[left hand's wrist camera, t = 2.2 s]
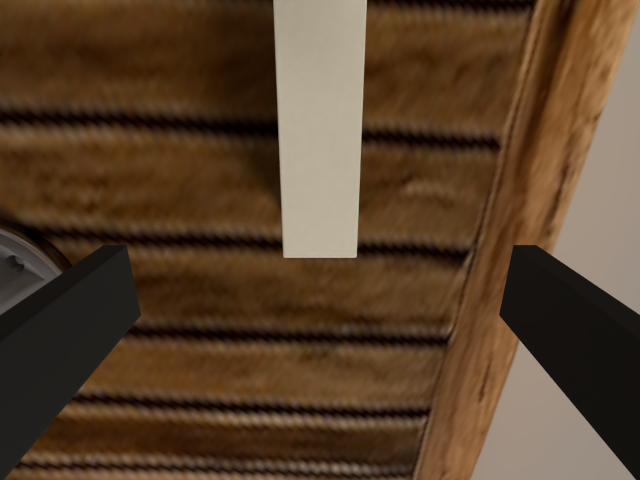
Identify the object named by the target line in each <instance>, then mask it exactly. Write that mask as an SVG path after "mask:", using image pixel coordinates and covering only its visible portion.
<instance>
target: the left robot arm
mask: <svg viewBox="0 0 640 480" xmlns="http://www.w3.org/2000/svg"><path fill="white" fill-rule="evenodd" d="M140 315H141V314H140V309H139V304H138V299H137V294H136V289H135V284H134V280H133V275H132V270H131V265H130V260H129V255H128V251H127V246H126V245H103V246H102V247H100V248H99V249H97V250H96V251H94V252H93V253H92V254H90V255H89V256H87V257H86V258H84V259H83V260H81V261H80V262H78V263H77V264H75V265H74V266H72V267H71V265H70V264H69V263H68V262H67V261H66V260H65V259H64V258H63V256H62V255H61V254H59V253H58V252H57V251H56V250H55V249H54V248H53V247H51V246H50V245H49V244H48V243H46V242H45V241H44V240H42V239H41V238H39V237H38V236H36V235H34V234H33V233H31V232H29V231H27V230H25V229H23V228H21V227H19V226H17V225H14V224H12V223H9V222H6V221H3V220H0V480H4V479H5V478H6V477H7V475H8V474H9V473H10V472H11V471H12V469H13V468H14V467H15V466H16V465H17V463H18V462H19V461H20V460H21V459H22V457H23V456H24V455H25V454H26V453H27V451H28V450H29V449H30V448H31V447H32V445H33V444H34V443H35V442H36V440H37V439H38V438H39V437H40V436H41V434H42V433H43V432H44V431H45V430H46V428H47V427H48V426H49V425H50V424H51V422H52V421H53V420H54V419H55V418H56V416H57V415H58V414H59V413H60V412H61V410H62V409H63V408H64V407H65V406H66V404H67V403H68V402H69V401H70V400H71V398H72V397H73V396H74V395H75V394H76V392H77V391H78V390H79V389H80V388H81V386H82V385H83V384H84V383H85V382H86V380H87V379H88V378H89V377H90V376H91V374H92V373H93V372H94V371H95V370H96V368H97V367H98V366H99V365H100V364H101V362H102V361H103V360H104V359H105V358H106V356H107V355H108V354H109V353H110V352H111V350H112V349H113V348H114V347H115V346H116V344H117V343H118V342H119V341H120V339H121V338H122V337H123V336H124V335H125V333H126V332H127V331H128V330H129V329H130V327H131V326H132V325H133V324H134V323H135V321H136V320H137V319H138V318H139V317H140ZM499 315H500V317H501V318H502V319H503V320H504V321H505V323H506V324H507V325H508V326H509V327H510V329H511V330H512V331H513V332H514V333H515V335H516V336H517V337H518V338H519V339H520V341H521V342H522V343H523V344H524V345H525V347H526V348H527V349H528V350H529V351H530V353H531V354H532V355H533V356H534V357H535V359H536V360H537V361H538V362H539V364H540V365H541V366H542V367H543V368H544V370H545V371H546V372H547V373H548V374H549V376H550V377H551V378H552V379H553V380H554V382H555V383H556V384H557V385H558V386H559V388H560V389H561V390H562V391H563V392H564V394H565V395H566V396H567V397H568V398H569V400H570V401H571V402H572V403H573V404H574V406H575V407H576V408H577V409H578V410H579V412H580V413H581V414H582V415H583V416H584V418H585V419H586V420H587V421H588V422H589V424H590V425H591V426H592V427H593V428H594V430H595V431H596V432H597V433H598V434H599V436H600V437H601V438H602V439H603V440H604V442H605V443H606V444H607V445H608V447H609V448H610V449H611V450H612V451H613V452H614V454H615V455H616V456H617V457H618V459H619V460H620V461H621V462H622V463H623V465H624V466H625V467H626V468H627V469H628V470H629V472H630V473H631V474H632V475H633V476H634V478H635V479H636V480H640V315H639V314H637V313H636V312H635V311H633V310H632V309H630V308H628V307H627V306H626V305H624V304H623V303H621V302H620V301H618V300H617V299H615V298H614V297H612V296H611V295H609V294H608V293H606V292H605V291H603V290H602V289H600V288H599V287H597V286H596V285H594V284H593V283H591V282H590V281H589V280H587V279H586V278H584V277H583V276H581V275H580V274H578V273H577V272H575V271H574V270H572V269H571V268H569V267H568V266H566V265H565V264H563V263H562V262H560V261H559V260H557V259H556V258H554V257H553V256H551V255H550V254H548V253H547V252H546V251H544V250H543V249H541V248H540V247H538V246H537V245H514V246H513V251H512V255H511V260H510V265H509V270H508V275H507V280H506V284H505V289H504V294H503V299H502V304H501V309H500V314H499Z"/></svg>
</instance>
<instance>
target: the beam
mask: <svg viewBox="0 0 640 480" xmlns="http://www.w3.org/2000/svg"><path fill="white" fill-rule="evenodd" d="M273 6H274V32H275V57H276V82H277V108H278V133H279V158H280V184H281V209H282V234H283V257H285V258H355V257H357V234H358V209H359V183H360V158H361V133H362V107H363V82H364V57H365V31H366V6H367V0H273Z"/></svg>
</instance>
